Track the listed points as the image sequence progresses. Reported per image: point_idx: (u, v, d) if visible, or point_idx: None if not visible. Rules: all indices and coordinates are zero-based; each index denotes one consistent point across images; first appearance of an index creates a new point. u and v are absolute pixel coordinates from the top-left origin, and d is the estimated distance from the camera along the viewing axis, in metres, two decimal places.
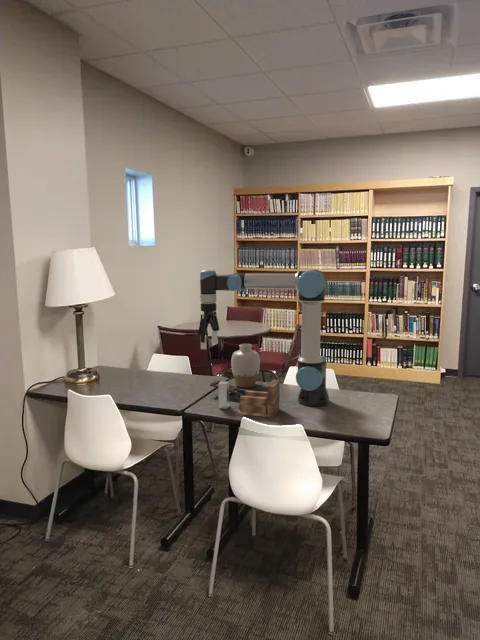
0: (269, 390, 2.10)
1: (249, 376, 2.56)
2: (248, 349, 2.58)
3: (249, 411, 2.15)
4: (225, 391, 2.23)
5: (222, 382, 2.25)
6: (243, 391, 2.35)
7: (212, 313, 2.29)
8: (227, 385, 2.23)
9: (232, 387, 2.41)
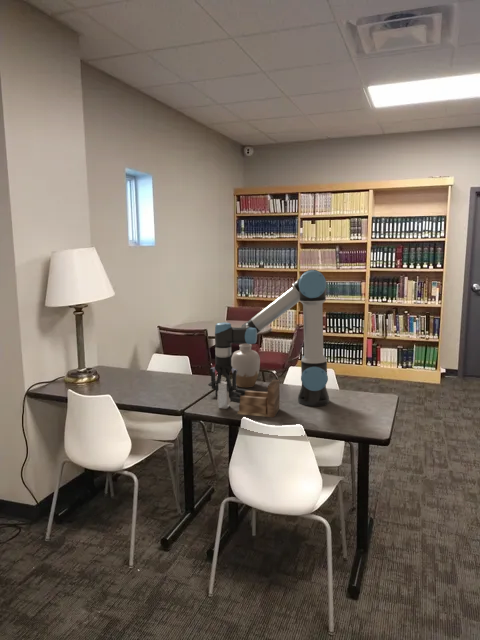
0: (269, 390, 2.10)
1: (249, 376, 2.56)
2: (248, 349, 2.58)
3: (249, 411, 2.15)
4: (225, 391, 2.23)
5: (222, 382, 2.25)
6: (241, 391, 2.35)
7: (227, 366, 2.21)
8: None
9: None
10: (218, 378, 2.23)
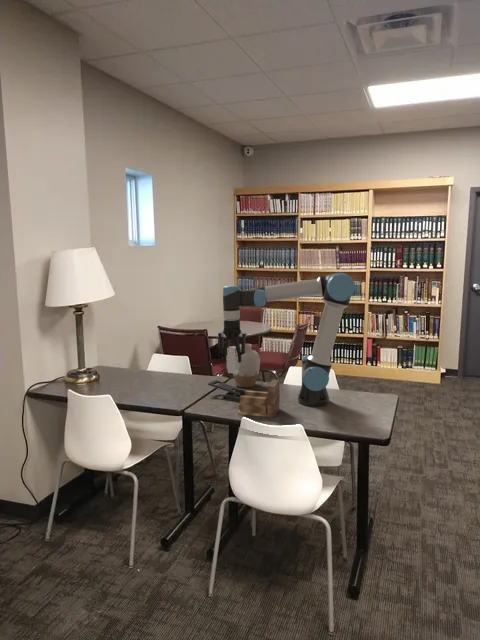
0: (269, 390, 2.10)
1: (249, 376, 2.56)
2: (248, 349, 2.58)
3: (249, 411, 2.15)
4: (234, 355, 2.18)
5: (231, 347, 2.20)
6: (241, 390, 2.36)
7: (236, 330, 2.17)
8: None
9: (230, 386, 2.42)
10: (227, 342, 2.19)
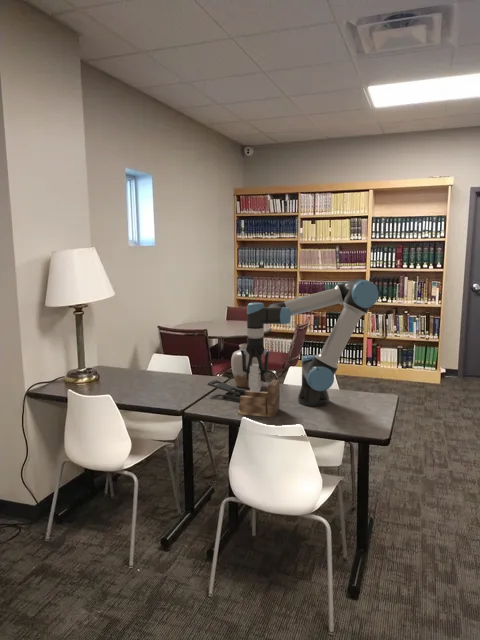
0: (269, 390, 2.10)
1: None
2: None
3: (249, 411, 2.15)
4: (257, 374, 2.15)
5: (253, 364, 2.17)
6: (240, 390, 2.36)
7: (259, 348, 2.14)
8: None
9: (229, 386, 2.43)
10: (249, 360, 2.16)
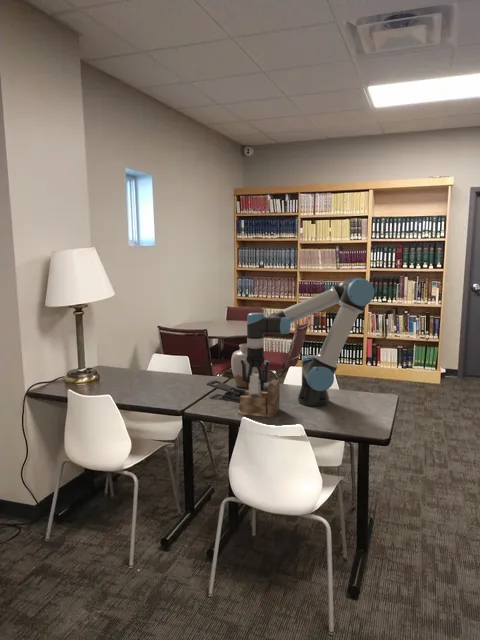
0: (269, 390, 2.10)
1: None
2: None
3: (249, 411, 2.15)
4: (257, 383, 2.15)
5: (253, 374, 2.17)
6: (240, 390, 2.36)
7: (259, 358, 2.14)
8: None
9: (229, 386, 2.43)
10: (250, 370, 2.16)
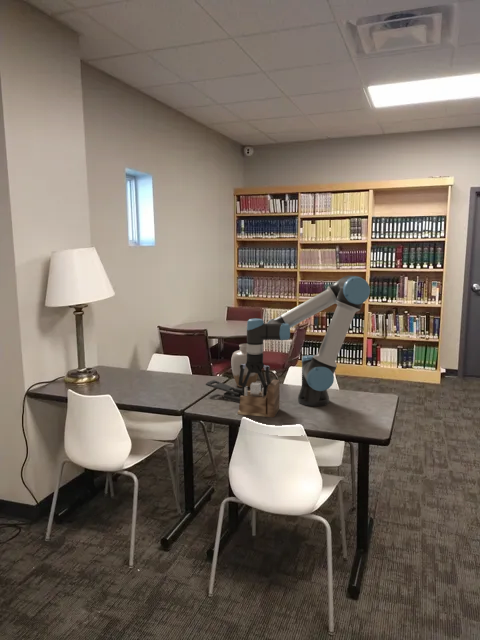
0: (269, 390, 2.10)
1: None
2: None
3: (249, 411, 2.15)
4: (257, 393, 2.16)
5: (254, 383, 2.18)
6: (239, 390, 2.36)
7: (259, 364, 2.15)
8: (259, 386, 2.17)
9: (228, 386, 2.43)
10: (247, 375, 2.17)
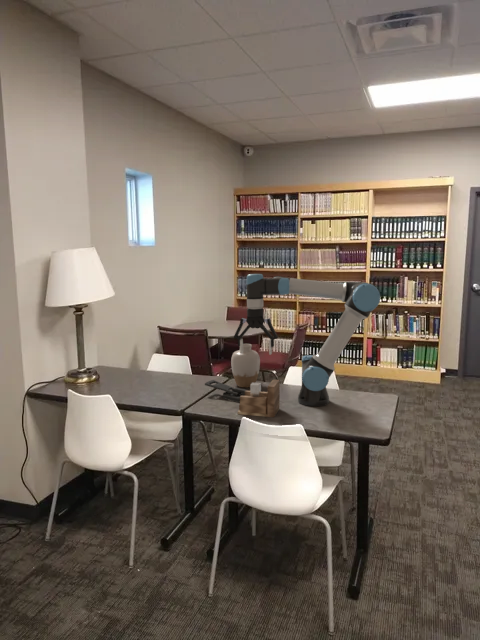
0: (269, 390, 2.10)
1: (249, 376, 2.56)
2: (248, 349, 2.58)
3: (249, 411, 2.15)
4: (257, 393, 2.16)
5: (254, 383, 2.18)
6: (238, 390, 2.37)
7: (259, 319, 2.16)
8: (259, 386, 2.17)
9: (227, 386, 2.43)
10: (246, 329, 2.18)
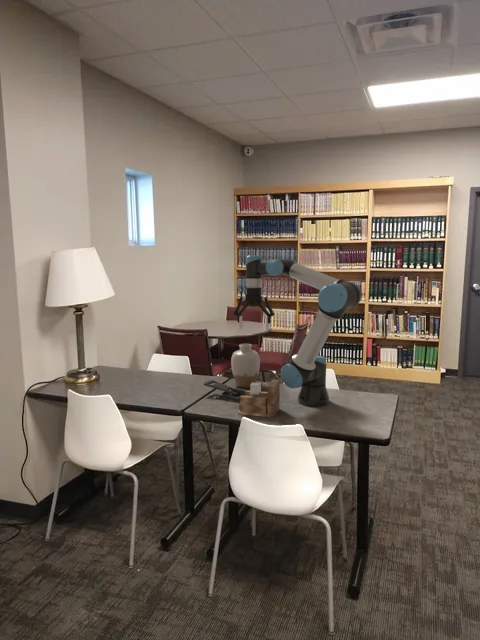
0: (269, 390, 2.10)
1: (249, 376, 2.56)
2: (248, 349, 2.58)
3: (249, 411, 2.15)
4: (257, 393, 2.16)
5: (254, 383, 2.18)
6: (237, 390, 2.37)
7: (257, 298, 2.33)
8: (259, 386, 2.17)
9: (226, 386, 2.43)
10: (245, 307, 2.35)
